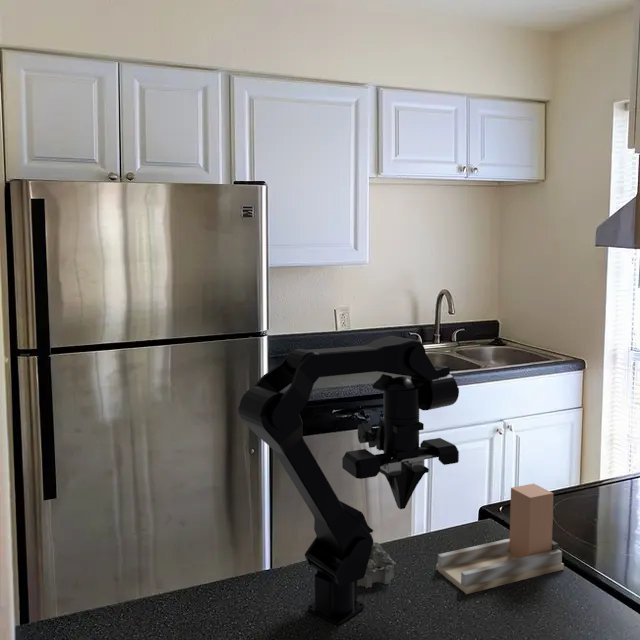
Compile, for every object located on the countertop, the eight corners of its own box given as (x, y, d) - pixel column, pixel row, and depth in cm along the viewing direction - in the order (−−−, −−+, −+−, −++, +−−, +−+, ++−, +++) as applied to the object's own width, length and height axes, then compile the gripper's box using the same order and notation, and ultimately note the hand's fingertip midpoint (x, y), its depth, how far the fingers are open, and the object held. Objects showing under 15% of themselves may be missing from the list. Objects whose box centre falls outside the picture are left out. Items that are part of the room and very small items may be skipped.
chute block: (528, 565, 114) (530, 497, 112) (509, 552, 118) (510, 487, 117) (551, 559, 116) (553, 493, 114) (531, 547, 120) (533, 483, 119)
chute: (466, 594, 107) (466, 570, 106) (436, 569, 115) (436, 547, 114) (563, 569, 114) (564, 547, 114) (528, 547, 123) (529, 527, 122)
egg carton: (335, 562, 118) (335, 540, 118) (375, 556, 121) (375, 534, 120) (356, 591, 108) (356, 567, 108) (399, 584, 110) (399, 560, 110)
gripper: (424, 398, 118) (424, 483, 120) (328, 409, 111) (329, 500, 112) (461, 412, 108) (460, 505, 109) (357, 426, 100) (358, 525, 102)
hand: (401, 508), depth 109 cm, fingers closed
